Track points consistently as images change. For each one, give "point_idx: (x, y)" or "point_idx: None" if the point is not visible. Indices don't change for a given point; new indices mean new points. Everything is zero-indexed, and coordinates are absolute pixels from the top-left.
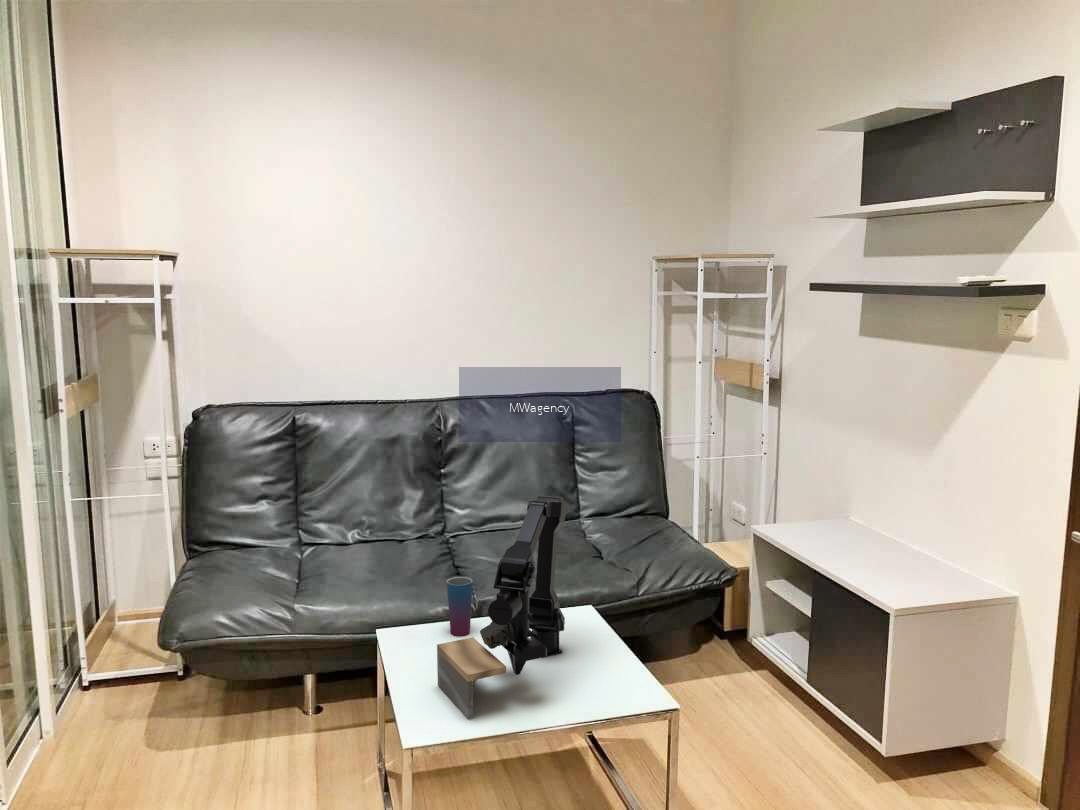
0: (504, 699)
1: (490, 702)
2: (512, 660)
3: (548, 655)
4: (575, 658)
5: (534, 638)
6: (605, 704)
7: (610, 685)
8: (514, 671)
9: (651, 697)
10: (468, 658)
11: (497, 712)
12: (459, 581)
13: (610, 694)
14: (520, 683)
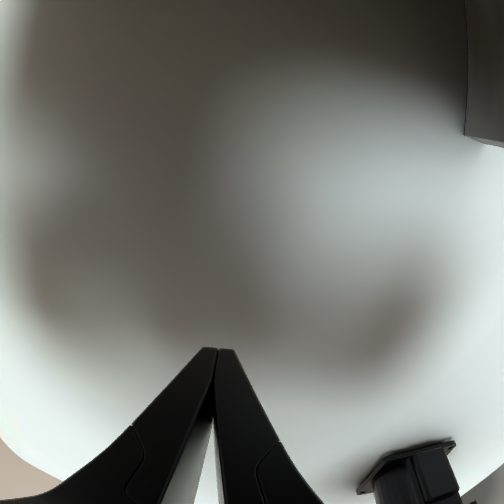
0: (106, 145)
1: (118, 46)
2: (219, 448)
3: (373, 472)
4: None
5: (432, 496)
6: (13, 413)
7: None
8: (217, 362)
9: (45, 467)
10: None
11: (15, 58)
12: None
13: (62, 450)
14: (256, 335)
